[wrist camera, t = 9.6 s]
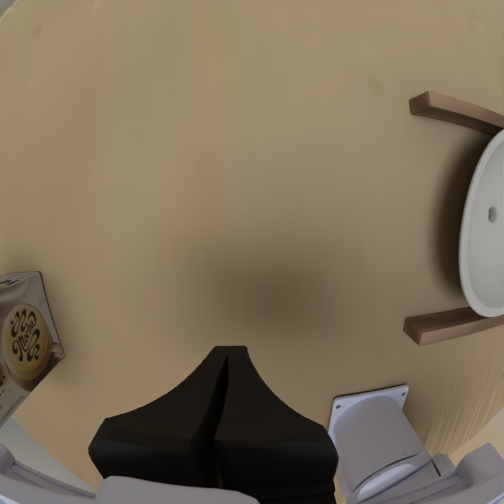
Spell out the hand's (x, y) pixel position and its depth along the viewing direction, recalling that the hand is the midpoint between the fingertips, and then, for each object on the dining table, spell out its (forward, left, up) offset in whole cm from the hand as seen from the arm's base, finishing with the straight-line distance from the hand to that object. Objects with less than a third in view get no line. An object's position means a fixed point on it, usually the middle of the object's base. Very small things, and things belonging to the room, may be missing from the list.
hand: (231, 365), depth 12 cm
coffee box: (-3, +21, -10) cm, 23 cm away
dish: (+6, -23, -10) cm, 26 cm away
